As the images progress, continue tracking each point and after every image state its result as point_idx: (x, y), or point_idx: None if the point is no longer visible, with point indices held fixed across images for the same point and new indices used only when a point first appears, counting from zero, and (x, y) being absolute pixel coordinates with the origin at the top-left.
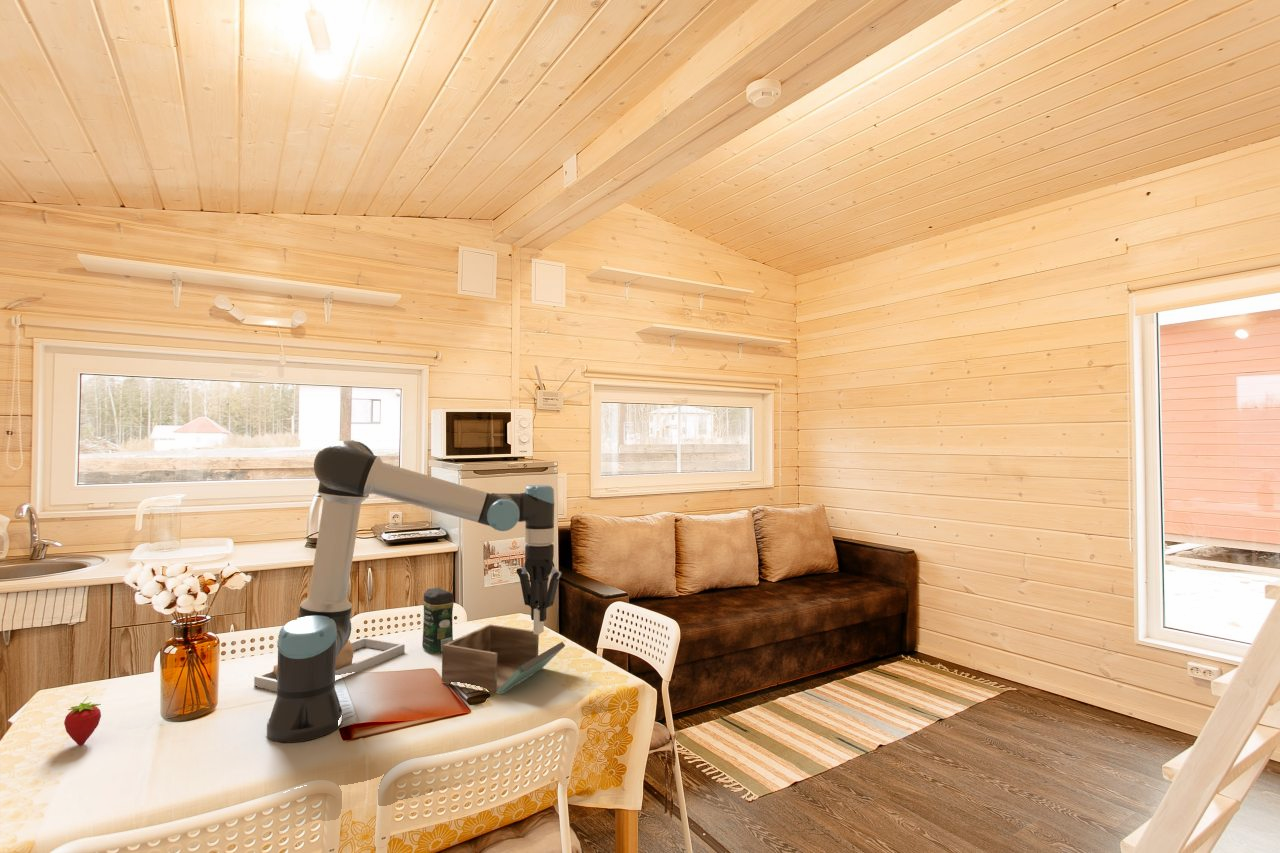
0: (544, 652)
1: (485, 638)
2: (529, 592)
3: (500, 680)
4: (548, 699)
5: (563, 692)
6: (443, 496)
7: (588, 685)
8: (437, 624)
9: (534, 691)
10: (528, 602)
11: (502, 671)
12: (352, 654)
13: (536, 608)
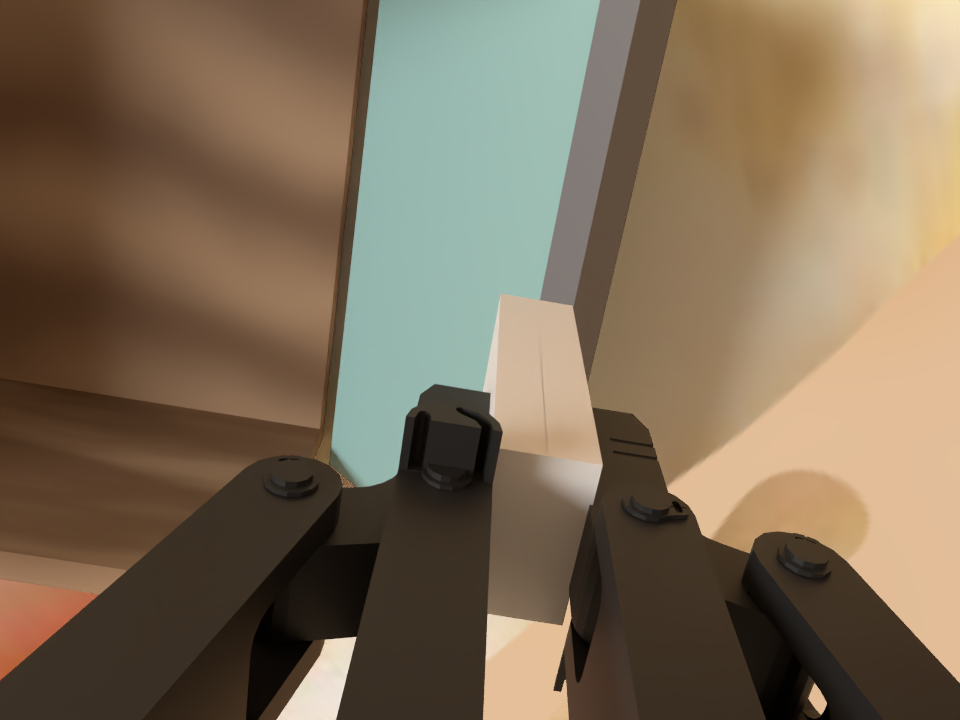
0: (584, 275)
1: None
2: (221, 701)
3: (234, 238)
4: (659, 380)
5: (728, 250)
6: None
7: (891, 71)
8: None
9: None
10: (319, 652)
11: (142, 52)
12: None
13: (492, 562)
